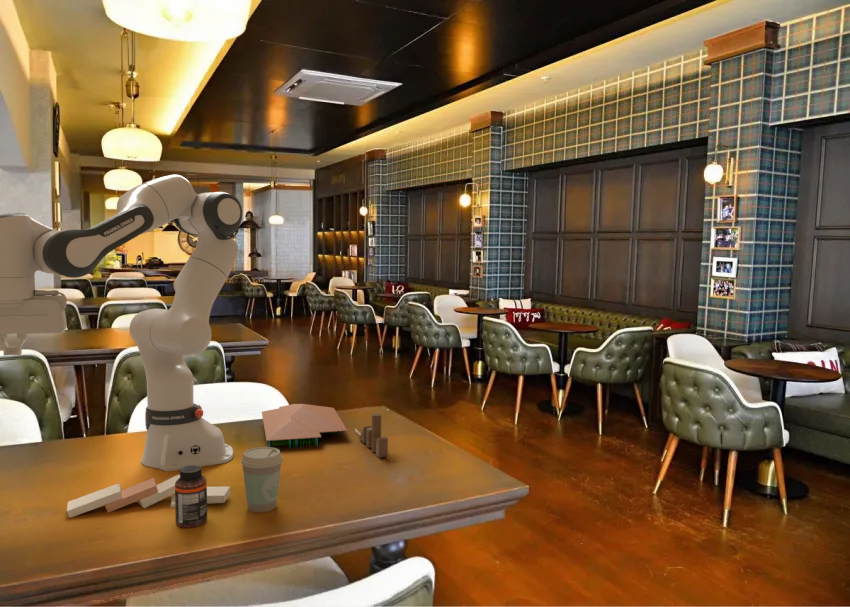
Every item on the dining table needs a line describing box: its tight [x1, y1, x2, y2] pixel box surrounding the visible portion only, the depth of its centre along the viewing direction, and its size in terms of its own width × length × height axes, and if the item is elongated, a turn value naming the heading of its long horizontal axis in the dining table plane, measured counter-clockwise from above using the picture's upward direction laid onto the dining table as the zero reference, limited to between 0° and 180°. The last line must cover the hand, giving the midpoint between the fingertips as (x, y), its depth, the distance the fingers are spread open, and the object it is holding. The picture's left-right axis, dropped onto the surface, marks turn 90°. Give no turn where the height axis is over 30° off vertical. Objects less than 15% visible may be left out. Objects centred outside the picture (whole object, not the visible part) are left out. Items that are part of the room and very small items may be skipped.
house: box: [261, 403, 348, 449], centre depth 188 cm, size 23×33×8 cm
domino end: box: [66, 483, 123, 519], centre depth 129 cm, size 2×5×10 cm
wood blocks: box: [354, 413, 389, 459], centre depth 176 cm, size 25×3×10 cm, turn 24°
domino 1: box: [104, 477, 158, 513], centre depth 132 cm, size 2×5×10 cm
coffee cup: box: [240, 446, 284, 513], centre depth 132 cm, size 8×8×12 cm
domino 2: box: [136, 473, 180, 509], centre depth 135 cm, size 2×5×10 cm
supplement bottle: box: [174, 465, 208, 529], centre depth 124 cm, size 6×6×11 cm
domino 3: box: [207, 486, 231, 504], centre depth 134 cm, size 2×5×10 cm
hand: (12, 355), depth 132 cm, fingers closed
